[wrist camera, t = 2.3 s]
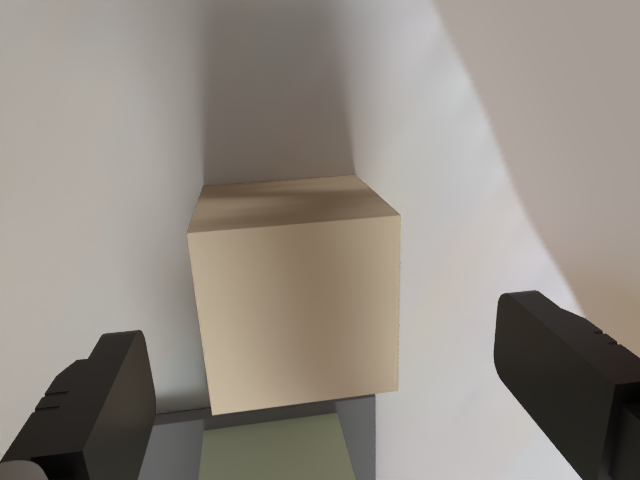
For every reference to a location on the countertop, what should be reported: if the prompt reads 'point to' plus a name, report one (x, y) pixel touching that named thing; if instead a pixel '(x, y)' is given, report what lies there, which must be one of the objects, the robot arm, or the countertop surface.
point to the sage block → (277, 451)
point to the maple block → (296, 291)
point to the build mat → (188, 426)
